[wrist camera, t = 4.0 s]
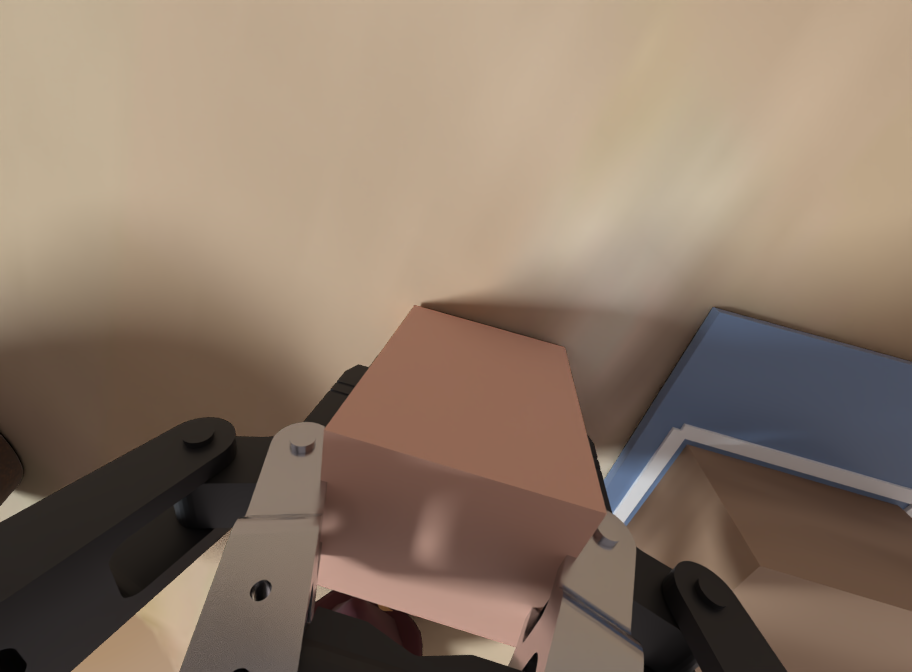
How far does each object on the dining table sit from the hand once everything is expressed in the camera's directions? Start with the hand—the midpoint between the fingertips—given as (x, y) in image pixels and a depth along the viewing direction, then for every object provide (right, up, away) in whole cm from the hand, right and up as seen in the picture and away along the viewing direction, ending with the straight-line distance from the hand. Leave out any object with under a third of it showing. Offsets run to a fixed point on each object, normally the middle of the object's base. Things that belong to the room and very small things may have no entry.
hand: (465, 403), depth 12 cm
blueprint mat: (+10, -4, +1) cm, 11 cm away
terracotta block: (0, 0, +1) cm, 1 cm away
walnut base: (+10, -5, +2) cm, 11 cm away
